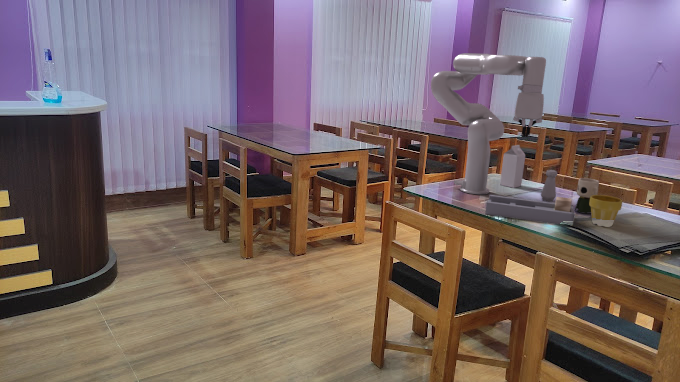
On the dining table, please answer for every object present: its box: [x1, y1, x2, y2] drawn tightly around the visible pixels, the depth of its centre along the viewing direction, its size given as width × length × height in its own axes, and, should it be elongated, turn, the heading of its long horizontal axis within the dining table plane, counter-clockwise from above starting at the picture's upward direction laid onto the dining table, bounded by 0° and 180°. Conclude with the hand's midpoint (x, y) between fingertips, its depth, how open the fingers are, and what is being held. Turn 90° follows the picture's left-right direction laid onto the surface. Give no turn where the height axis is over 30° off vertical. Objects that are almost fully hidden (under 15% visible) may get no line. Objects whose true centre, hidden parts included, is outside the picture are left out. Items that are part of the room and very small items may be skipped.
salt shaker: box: [540, 169, 558, 203], centre depth 210 cm, size 6×6×13 cm
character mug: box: [574, 177, 600, 214], centre depth 194 cm, size 11×7×13 cm, turn 12°
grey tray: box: [484, 194, 575, 225], centre depth 188 cm, size 30×13×4 cm, turn 69°
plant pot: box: [589, 194, 623, 220], centre depth 180 cm, size 10×10×10 cm
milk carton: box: [499, 144, 526, 189], centre depth 234 cm, size 7×7×19 cm
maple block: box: [554, 196, 572, 212], centre depth 183 cm, size 5×5×5 cm
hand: (525, 136), depth 200 cm, fingers closed
